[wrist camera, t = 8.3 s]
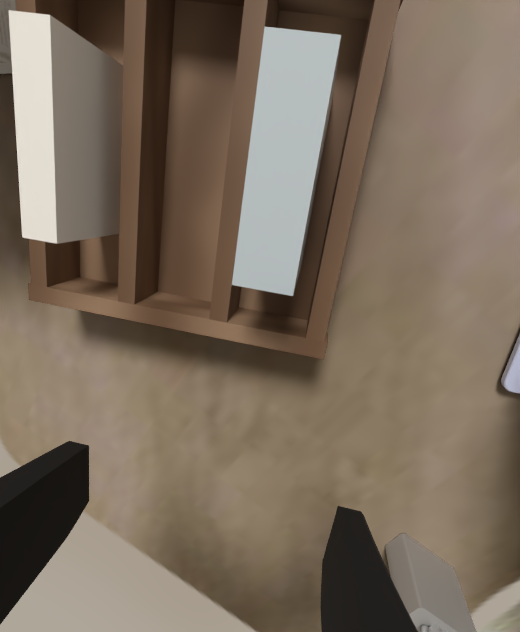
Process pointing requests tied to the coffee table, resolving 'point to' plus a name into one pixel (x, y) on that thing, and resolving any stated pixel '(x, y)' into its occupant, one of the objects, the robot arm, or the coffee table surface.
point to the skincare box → (5, 36)
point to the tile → (65, 131)
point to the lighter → (427, 587)
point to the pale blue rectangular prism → (284, 156)
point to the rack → (212, 165)
